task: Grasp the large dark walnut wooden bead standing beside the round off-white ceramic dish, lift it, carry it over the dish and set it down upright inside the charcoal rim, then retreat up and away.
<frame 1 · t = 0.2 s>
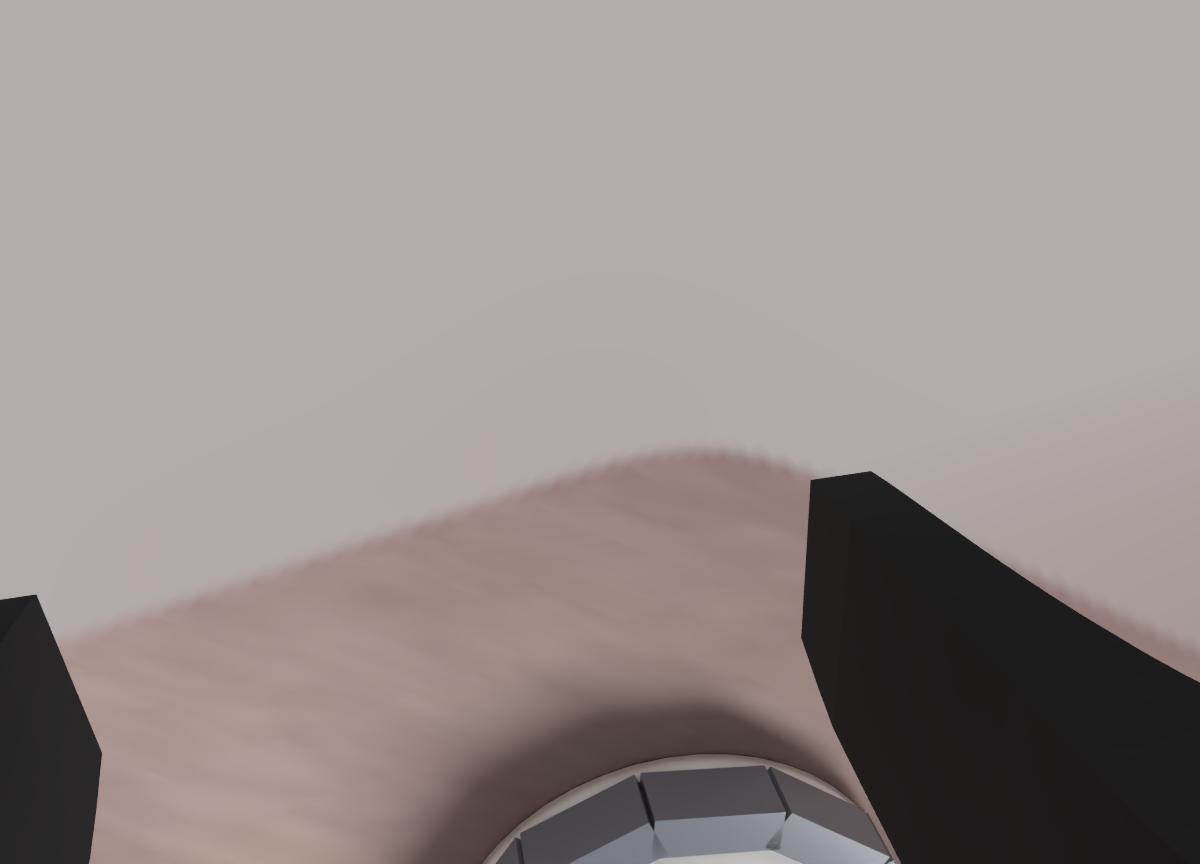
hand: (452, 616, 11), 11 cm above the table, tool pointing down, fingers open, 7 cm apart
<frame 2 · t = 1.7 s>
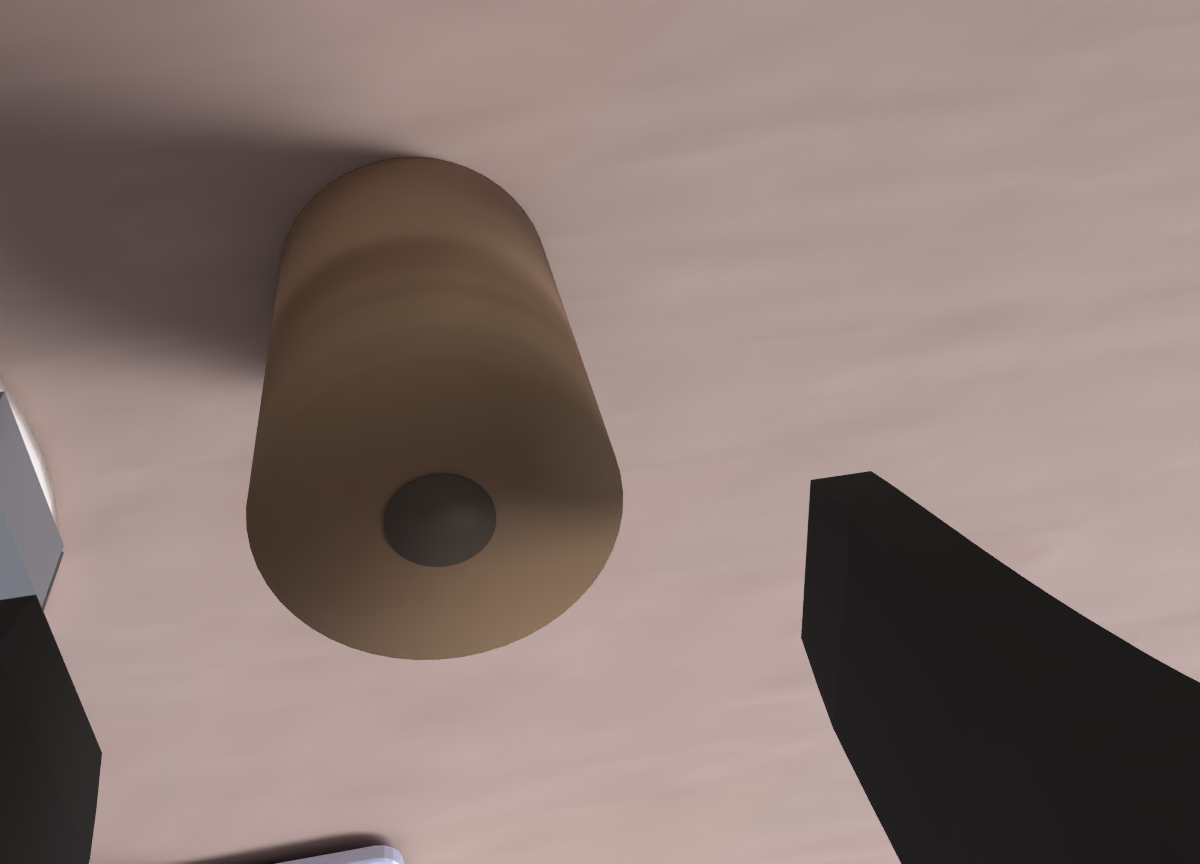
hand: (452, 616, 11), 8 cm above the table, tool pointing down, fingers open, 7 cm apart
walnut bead: (416, 286, 17), on the table
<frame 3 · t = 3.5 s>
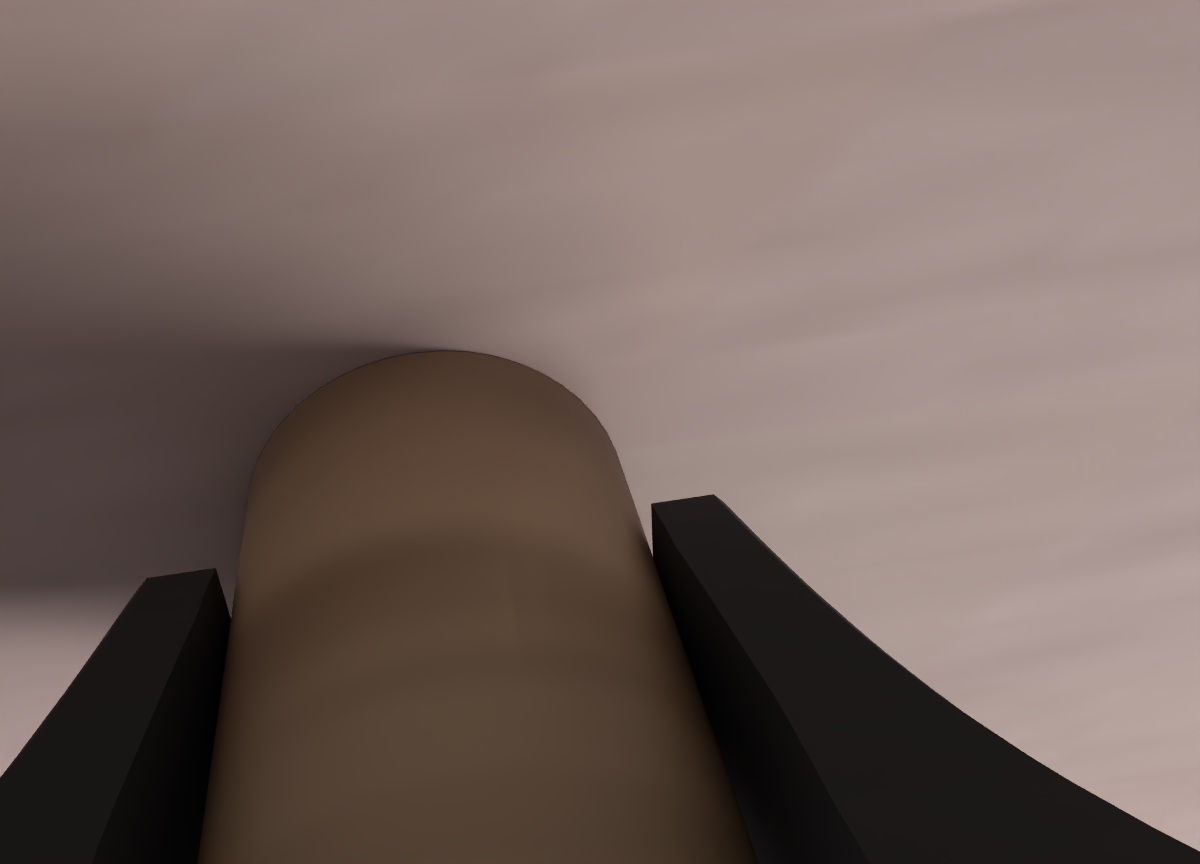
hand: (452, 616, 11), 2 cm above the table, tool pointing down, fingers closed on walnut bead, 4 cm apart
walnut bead: (441, 516, 12), on the table, touching gripper
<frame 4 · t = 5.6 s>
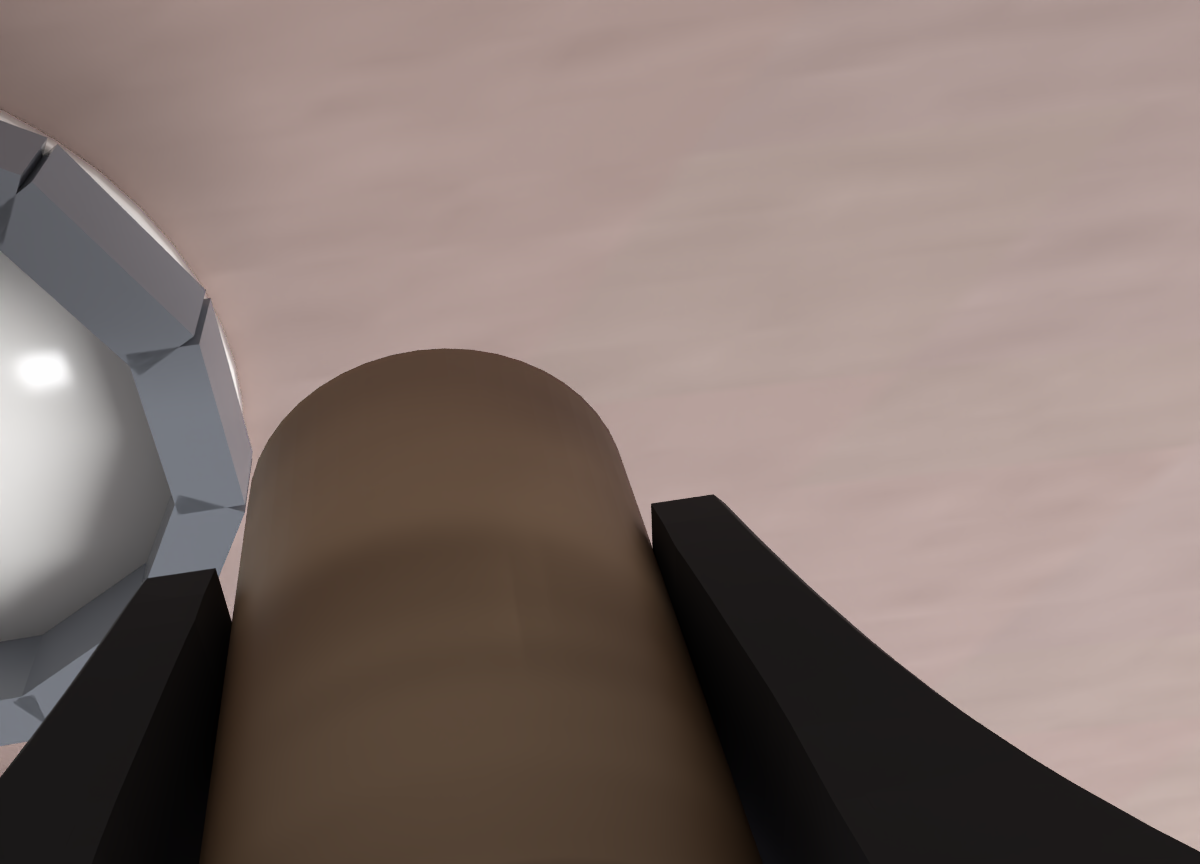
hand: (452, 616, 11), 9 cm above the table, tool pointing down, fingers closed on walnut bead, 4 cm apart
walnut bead: (442, 514, 12), point 7 cm above the table, touching gripper
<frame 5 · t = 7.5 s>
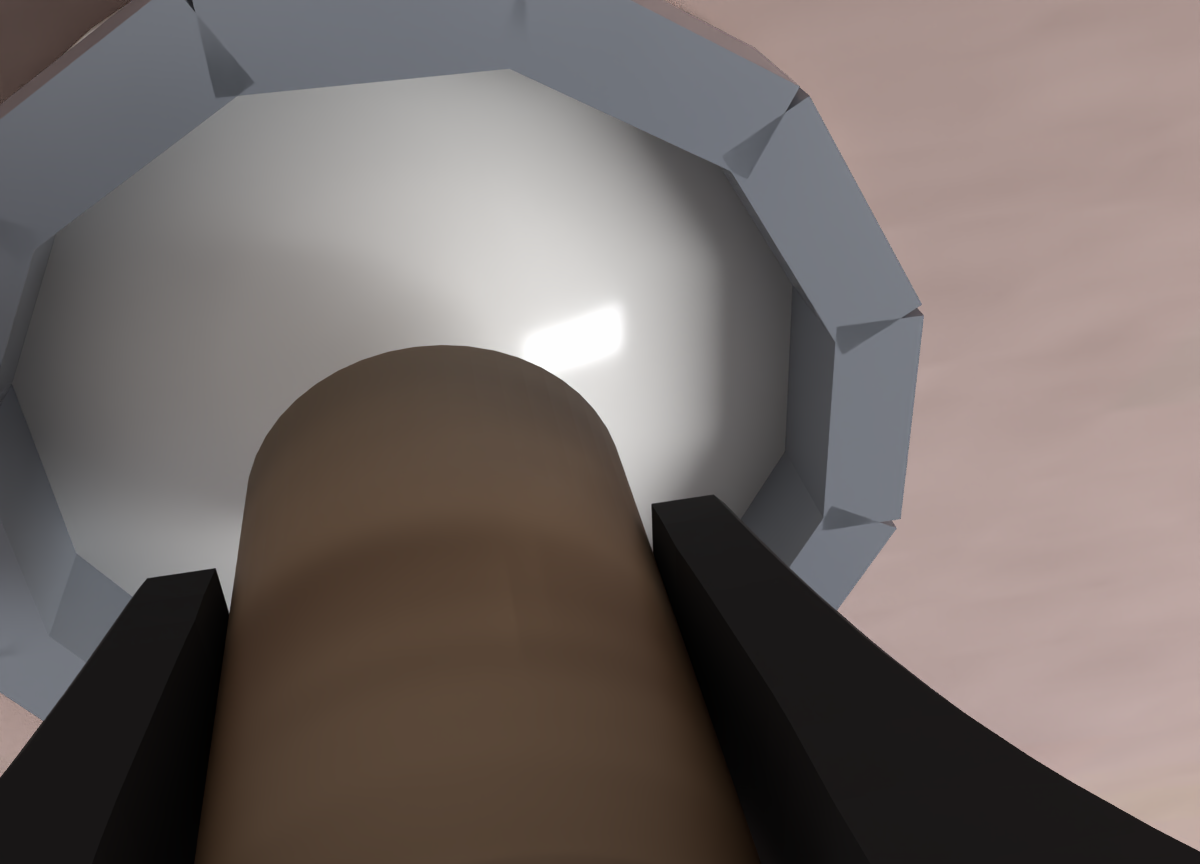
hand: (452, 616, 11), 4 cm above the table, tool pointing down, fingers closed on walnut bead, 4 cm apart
ring dish: (429, 399, 14), on the table
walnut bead: (440, 511, 12), point 2 cm above the table, touching gripper
when the fingers open (4 cm above the table, at t = 7.9 s): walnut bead drops 2 cm, resting on ring dish.
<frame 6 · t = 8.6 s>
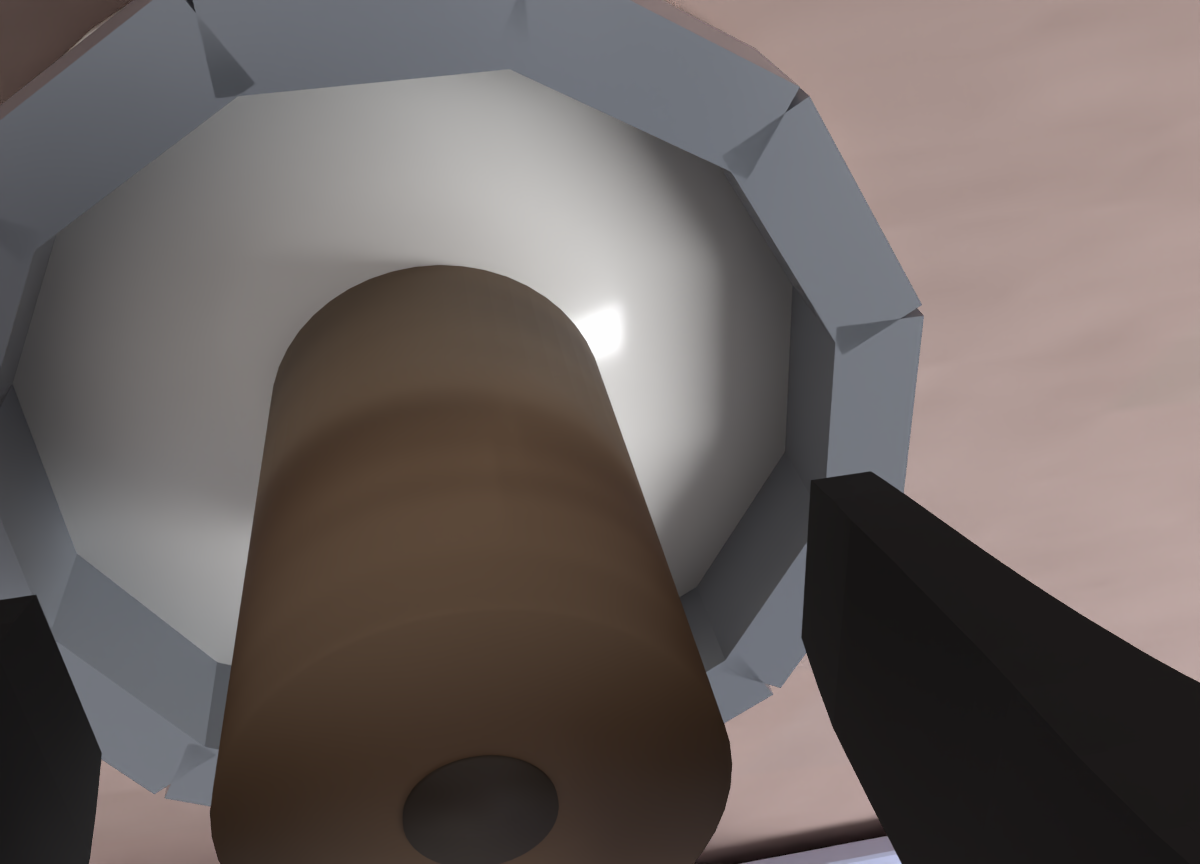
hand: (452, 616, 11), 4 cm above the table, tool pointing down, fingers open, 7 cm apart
ring dish: (429, 399, 14), on the table
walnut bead: (441, 418, 14), point 1 cm above the table, touching ring dish
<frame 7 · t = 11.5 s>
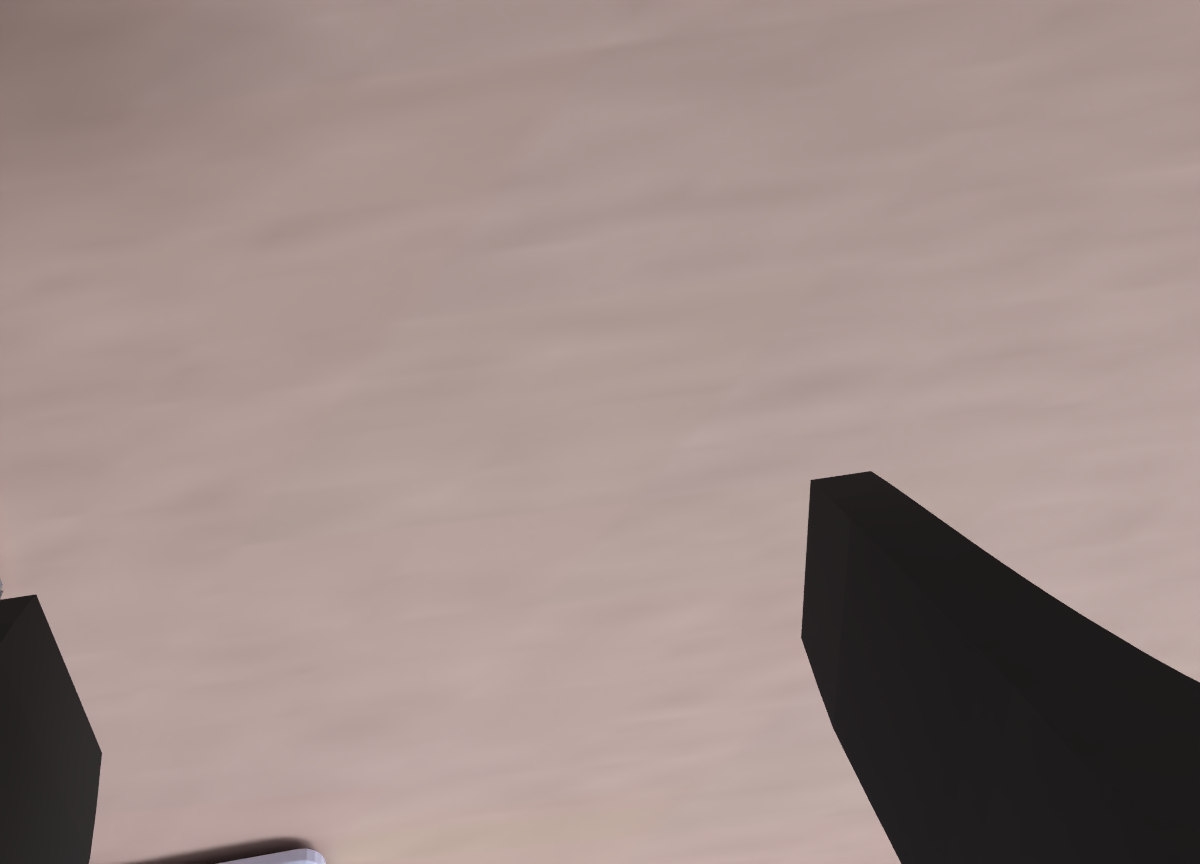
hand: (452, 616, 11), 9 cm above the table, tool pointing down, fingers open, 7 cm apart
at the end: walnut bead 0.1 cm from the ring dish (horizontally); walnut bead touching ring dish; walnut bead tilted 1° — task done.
